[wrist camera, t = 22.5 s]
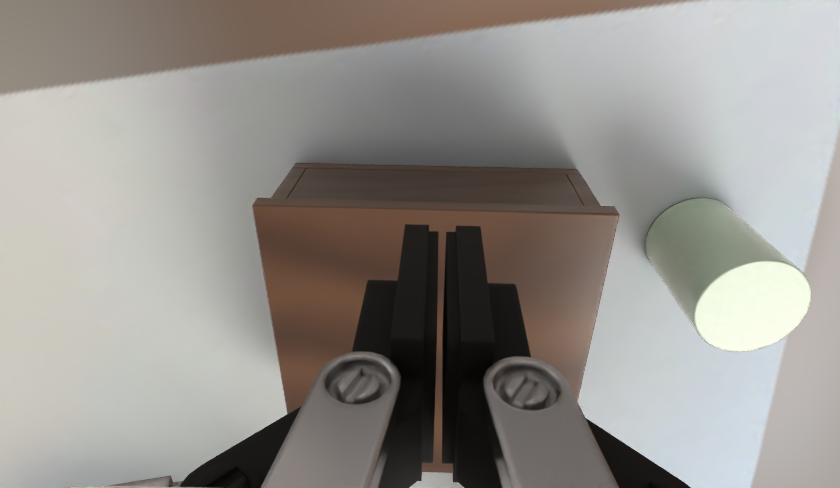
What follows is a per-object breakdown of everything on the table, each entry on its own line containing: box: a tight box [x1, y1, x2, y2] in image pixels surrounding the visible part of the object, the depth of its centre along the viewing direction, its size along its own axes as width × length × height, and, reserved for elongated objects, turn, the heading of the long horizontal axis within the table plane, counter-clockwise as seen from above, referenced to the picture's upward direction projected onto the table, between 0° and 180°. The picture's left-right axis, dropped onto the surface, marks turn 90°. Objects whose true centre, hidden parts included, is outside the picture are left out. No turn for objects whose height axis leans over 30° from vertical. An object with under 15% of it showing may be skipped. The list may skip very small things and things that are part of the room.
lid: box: [252, 198, 619, 473], centre depth 28 cm, size 17×16×1 cm
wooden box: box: [272, 163, 600, 206], centre depth 31 cm, size 17×16×6 cm
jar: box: [645, 198, 811, 352], centre depth 28 cm, size 5×5×7 cm
